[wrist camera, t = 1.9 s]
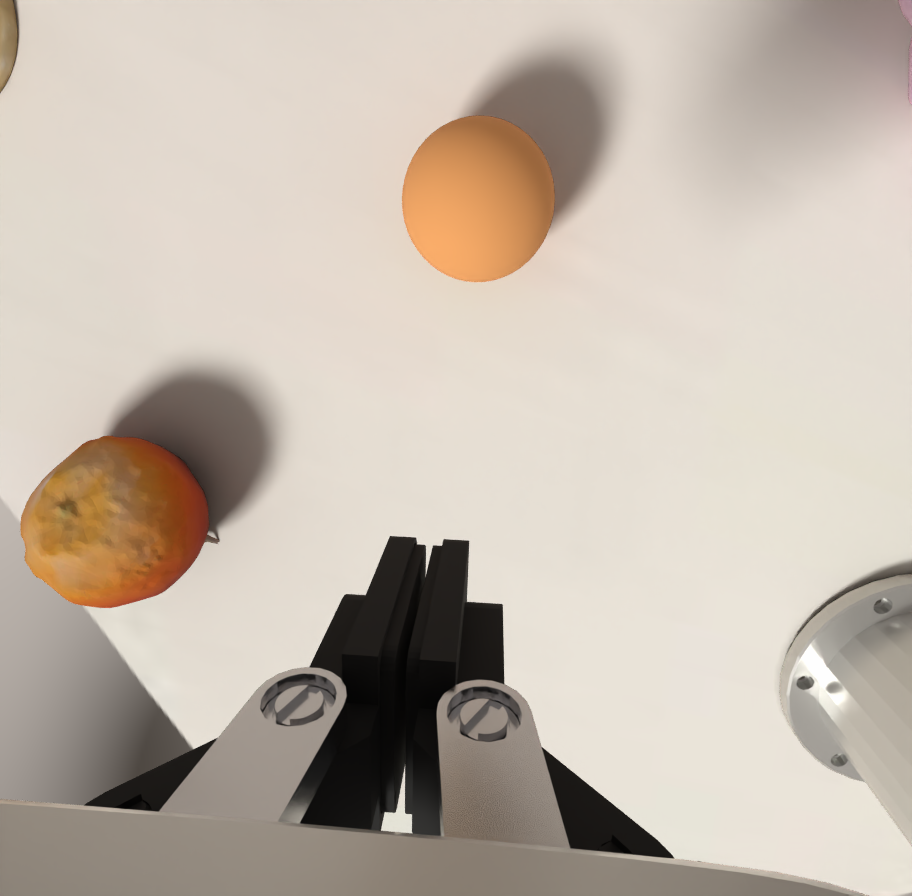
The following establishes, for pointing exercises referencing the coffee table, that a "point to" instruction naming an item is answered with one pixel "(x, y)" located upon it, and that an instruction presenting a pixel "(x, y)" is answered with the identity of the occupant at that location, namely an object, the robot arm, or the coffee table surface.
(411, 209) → the ball
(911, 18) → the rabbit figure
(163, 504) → the fruit
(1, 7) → the hand bell
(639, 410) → the coffee table surface
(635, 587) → the coffee table surface
